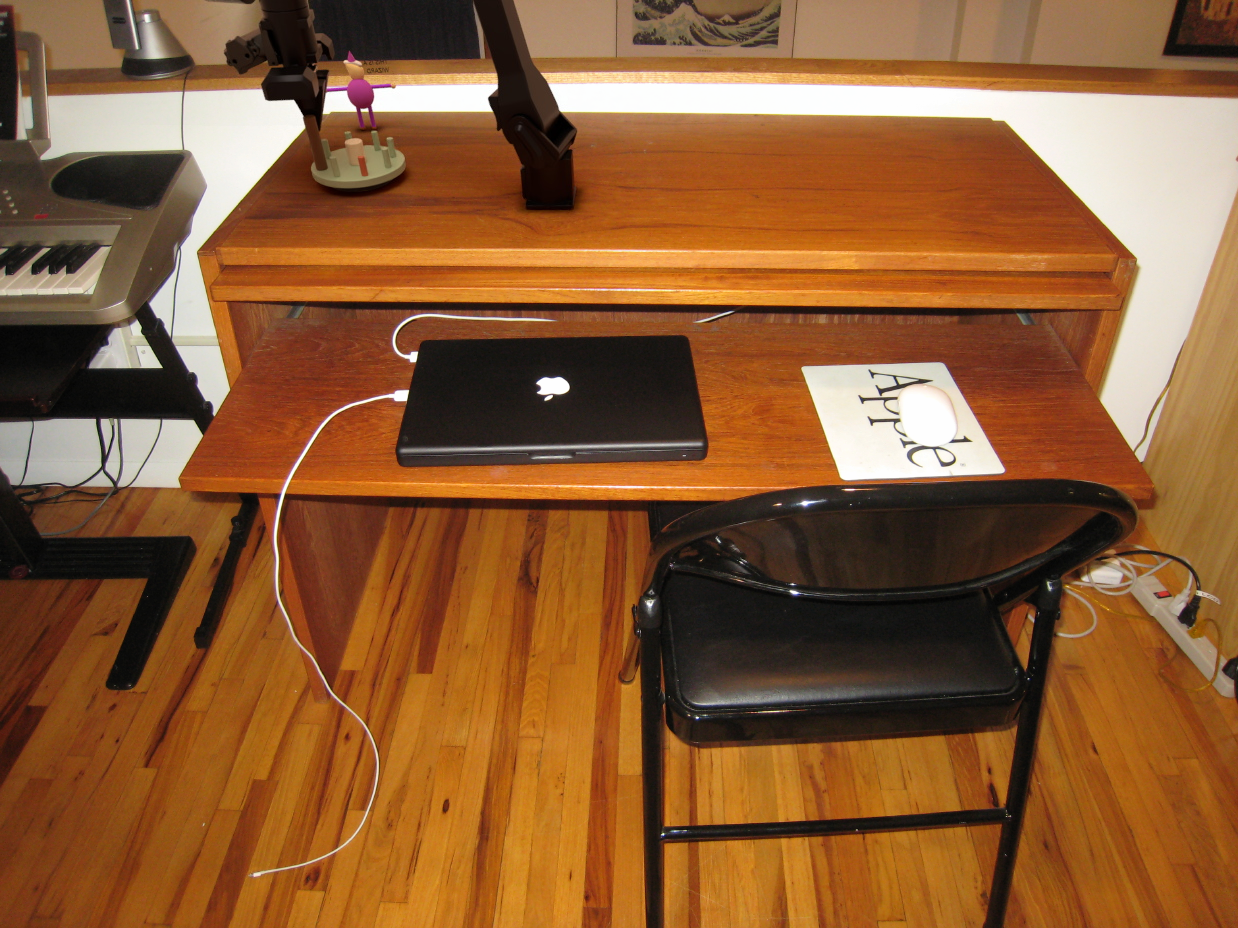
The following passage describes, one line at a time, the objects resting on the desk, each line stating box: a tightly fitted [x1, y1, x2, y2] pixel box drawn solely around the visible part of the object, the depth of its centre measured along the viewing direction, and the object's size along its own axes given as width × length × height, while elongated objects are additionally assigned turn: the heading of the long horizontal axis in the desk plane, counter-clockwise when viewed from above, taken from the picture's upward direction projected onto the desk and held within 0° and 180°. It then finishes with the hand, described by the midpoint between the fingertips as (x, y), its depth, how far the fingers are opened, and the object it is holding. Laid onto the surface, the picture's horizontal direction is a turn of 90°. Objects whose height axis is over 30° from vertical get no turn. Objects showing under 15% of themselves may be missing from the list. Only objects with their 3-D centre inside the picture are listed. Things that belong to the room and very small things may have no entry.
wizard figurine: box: [326, 50, 397, 131], centre depth 128 cm, size 11×3×12 cm, turn 99°
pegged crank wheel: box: [302, 115, 407, 189], centre depth 114 cm, size 13×13×8 cm
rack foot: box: [332, 179, 393, 193], centre depth 117 cm, size 9×9×1 cm
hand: (316, 131), depth 113 cm, fingers closed
